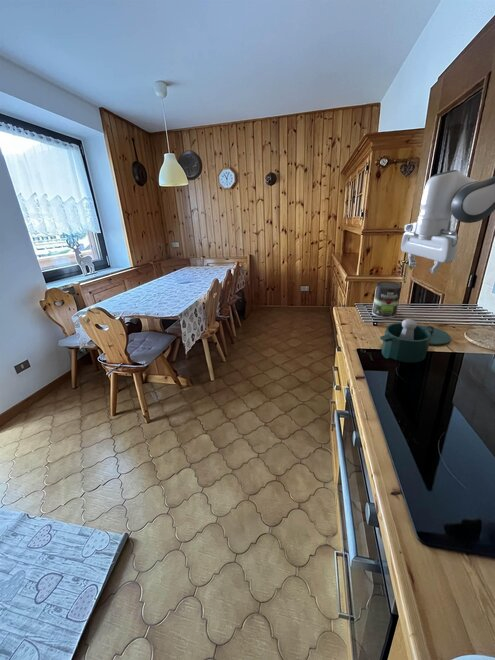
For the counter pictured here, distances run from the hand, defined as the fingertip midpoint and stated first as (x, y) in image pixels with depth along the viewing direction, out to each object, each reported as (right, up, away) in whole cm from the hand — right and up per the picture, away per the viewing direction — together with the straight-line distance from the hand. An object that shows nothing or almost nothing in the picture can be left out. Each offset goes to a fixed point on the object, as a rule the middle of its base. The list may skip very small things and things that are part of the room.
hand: (421, 269), depth 98 cm
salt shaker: (-6, -30, +2) cm, 30 cm away
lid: (+10, -23, +12) cm, 28 cm away
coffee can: (+3, -14, +33) cm, 36 cm away
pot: (-6, -30, +2) cm, 31 cm away
